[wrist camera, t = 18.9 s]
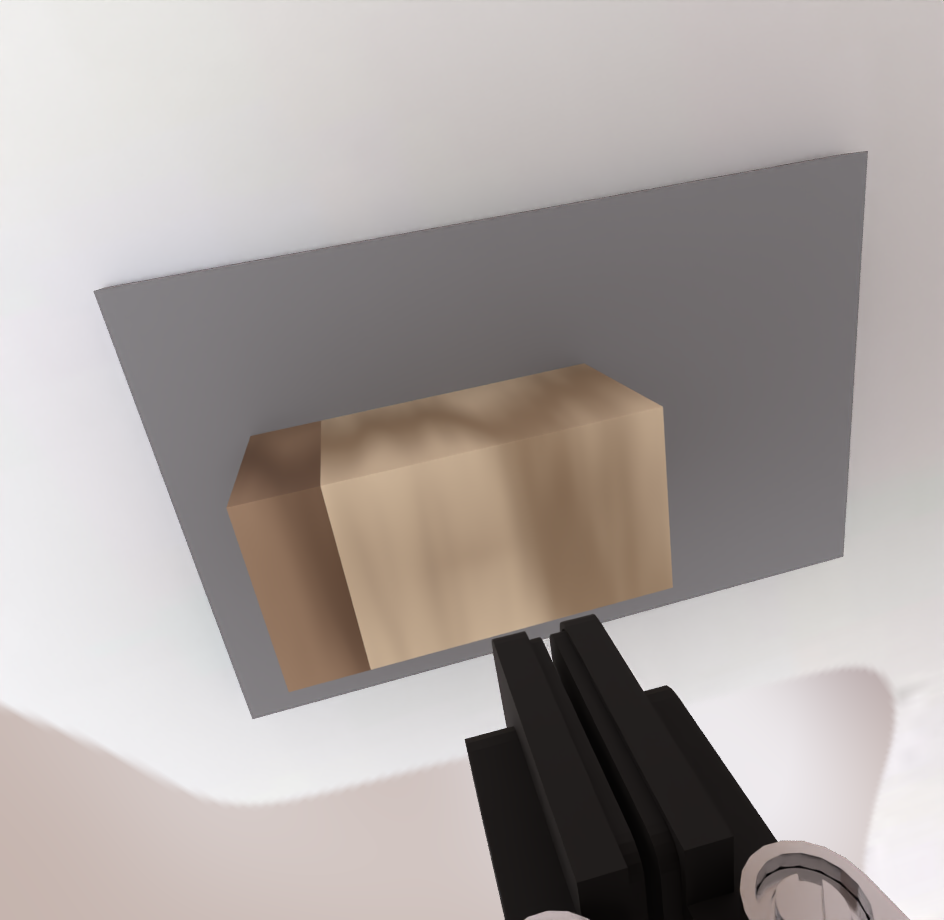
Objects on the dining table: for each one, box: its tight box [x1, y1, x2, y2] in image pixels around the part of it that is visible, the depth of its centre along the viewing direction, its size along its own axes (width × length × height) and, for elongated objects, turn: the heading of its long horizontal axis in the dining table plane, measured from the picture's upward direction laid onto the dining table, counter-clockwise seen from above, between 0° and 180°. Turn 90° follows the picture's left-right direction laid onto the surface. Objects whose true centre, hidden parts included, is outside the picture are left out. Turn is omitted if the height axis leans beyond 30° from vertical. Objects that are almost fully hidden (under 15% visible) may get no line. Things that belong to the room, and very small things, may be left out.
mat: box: [94, 151, 868, 719], centre depth 21 cm, size 22×14×1 cm, turn 100°
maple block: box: [226, 363, 673, 692], centre depth 18 cm, size 5×5×10 cm
